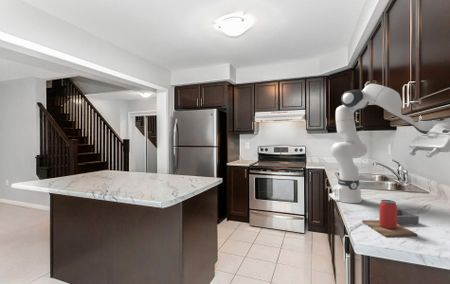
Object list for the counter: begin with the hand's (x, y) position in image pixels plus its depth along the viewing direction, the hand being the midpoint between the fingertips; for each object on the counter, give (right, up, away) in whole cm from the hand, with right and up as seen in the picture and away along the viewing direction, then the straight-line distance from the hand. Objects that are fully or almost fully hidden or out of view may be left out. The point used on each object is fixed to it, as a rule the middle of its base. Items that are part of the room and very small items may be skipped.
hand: (419, 155), depth 111 cm
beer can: (-20, -33, -6) cm, 39 cm away
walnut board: (-20, -34, -6) cm, 40 cm away
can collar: (-7, -33, +4) cm, 34 cm away
